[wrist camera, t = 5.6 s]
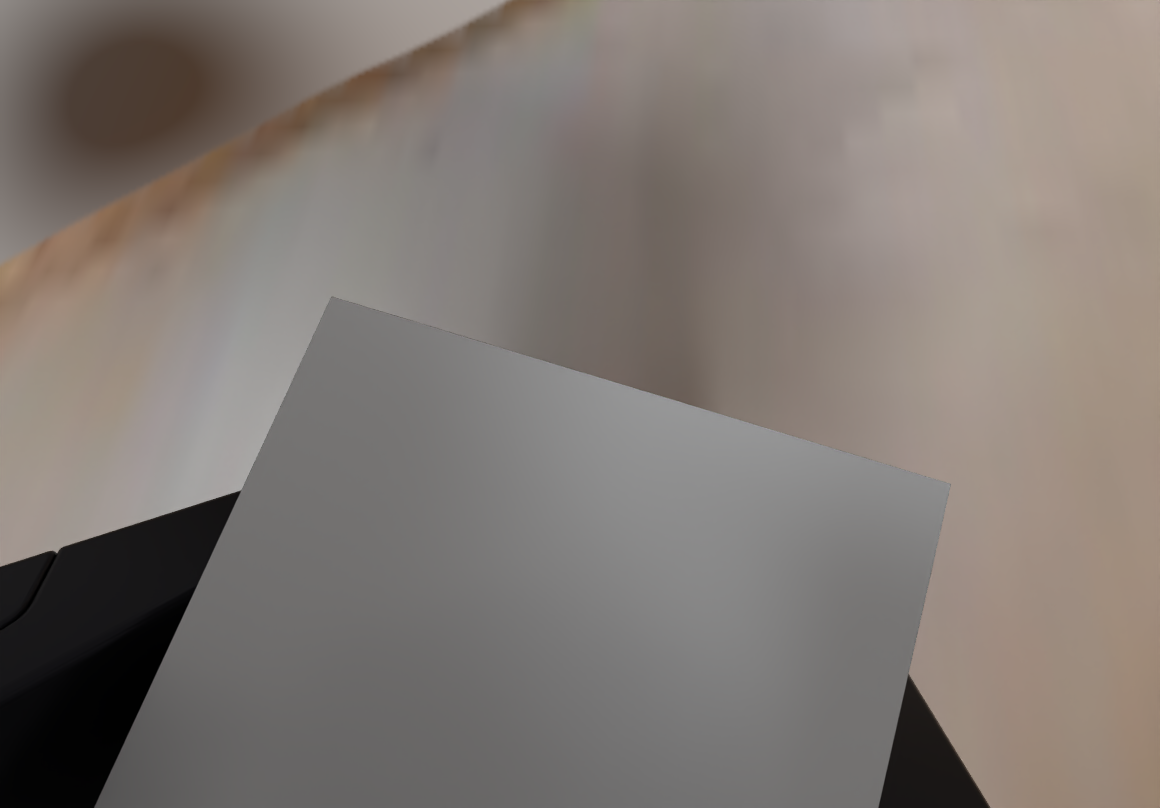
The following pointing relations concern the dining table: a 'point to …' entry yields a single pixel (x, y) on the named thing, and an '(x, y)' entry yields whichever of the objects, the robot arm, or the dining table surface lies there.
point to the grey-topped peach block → (534, 599)
